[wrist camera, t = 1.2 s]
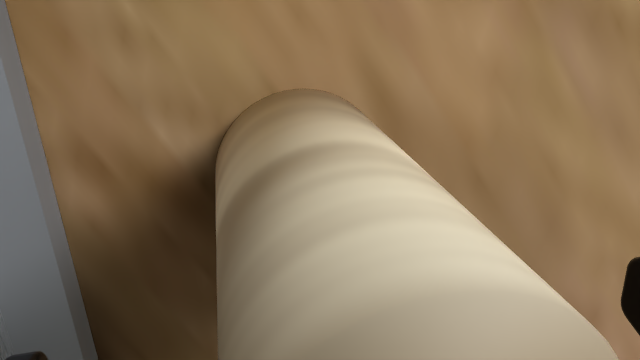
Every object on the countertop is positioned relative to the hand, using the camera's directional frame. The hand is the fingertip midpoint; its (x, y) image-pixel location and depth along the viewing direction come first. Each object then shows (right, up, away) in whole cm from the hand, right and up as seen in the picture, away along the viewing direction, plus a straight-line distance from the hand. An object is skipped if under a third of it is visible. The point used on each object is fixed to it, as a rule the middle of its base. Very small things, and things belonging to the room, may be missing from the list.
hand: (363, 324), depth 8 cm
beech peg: (-1, +2, +6) cm, 6 cm away
